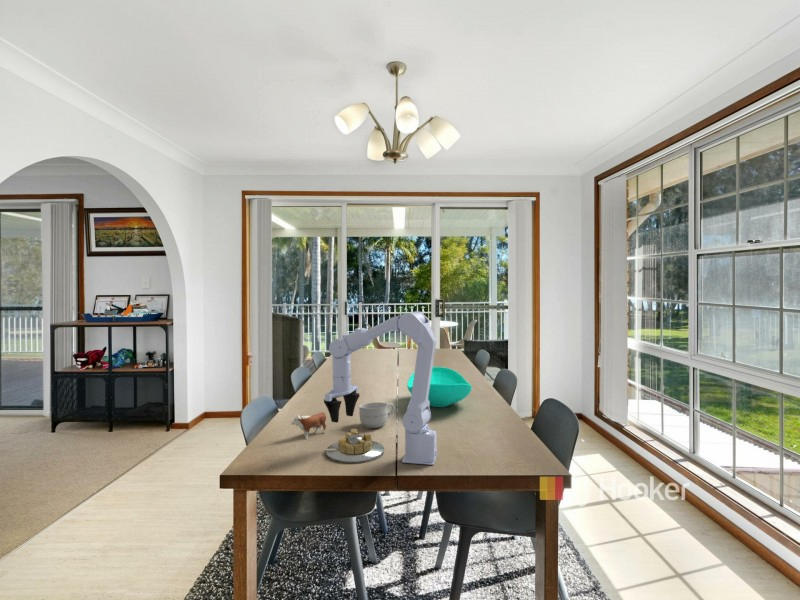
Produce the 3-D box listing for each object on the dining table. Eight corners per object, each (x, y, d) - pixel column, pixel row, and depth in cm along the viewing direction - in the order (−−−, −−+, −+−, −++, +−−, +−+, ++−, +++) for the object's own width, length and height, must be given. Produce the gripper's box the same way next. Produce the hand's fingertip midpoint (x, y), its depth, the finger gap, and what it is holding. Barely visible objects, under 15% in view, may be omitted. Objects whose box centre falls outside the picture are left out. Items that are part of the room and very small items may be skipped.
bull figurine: (289, 439, 157) (289, 415, 157) (322, 430, 166) (322, 407, 166) (296, 442, 154) (296, 418, 153) (329, 433, 163) (329, 410, 163)
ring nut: (378, 439, 152) (378, 429, 152) (366, 454, 138) (366, 443, 138) (348, 437, 154) (348, 427, 154) (333, 452, 140) (333, 441, 140)
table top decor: (480, 417, 181) (480, 384, 180) (410, 419, 180) (410, 385, 179) (462, 393, 221) (462, 366, 220) (404, 394, 219) (404, 367, 219)
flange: (389, 444, 151) (389, 429, 151) (375, 465, 134) (375, 449, 133) (337, 440, 155) (337, 426, 155) (317, 460, 137) (317, 444, 137)
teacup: (361, 431, 165) (361, 409, 164) (356, 422, 175) (356, 402, 175) (399, 428, 168) (399, 406, 168) (392, 419, 179) (392, 399, 178)
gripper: (345, 371, 154) (346, 411, 154) (316, 379, 142) (317, 422, 142) (363, 373, 150) (363, 414, 151) (334, 381, 138) (335, 426, 138)
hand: (342, 418), depth 146 cm, fingers open, 7 cm apart
